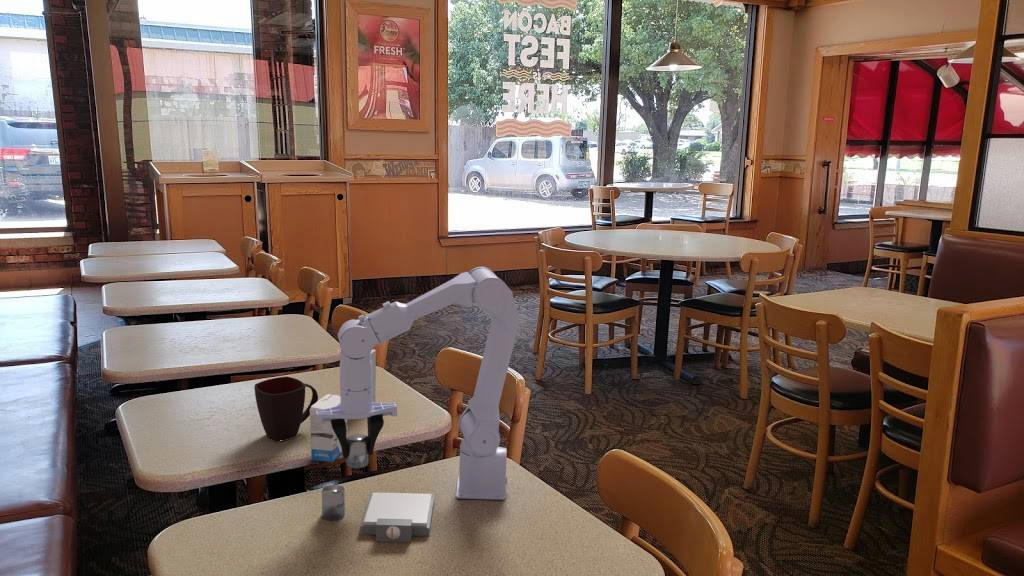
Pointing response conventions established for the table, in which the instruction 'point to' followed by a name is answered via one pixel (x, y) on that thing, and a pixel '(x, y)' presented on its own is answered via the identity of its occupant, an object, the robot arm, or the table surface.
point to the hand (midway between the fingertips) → (357, 454)
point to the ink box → (324, 432)
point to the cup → (282, 406)
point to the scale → (398, 516)
